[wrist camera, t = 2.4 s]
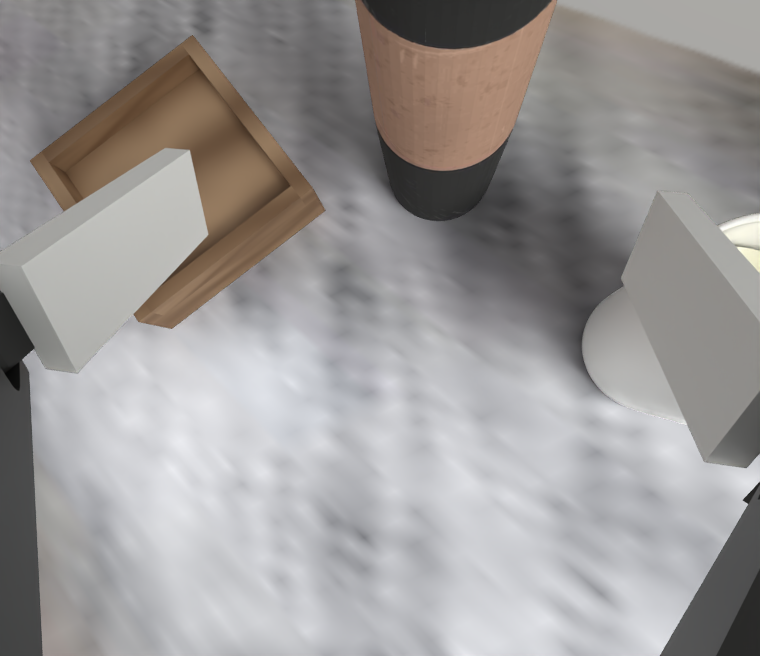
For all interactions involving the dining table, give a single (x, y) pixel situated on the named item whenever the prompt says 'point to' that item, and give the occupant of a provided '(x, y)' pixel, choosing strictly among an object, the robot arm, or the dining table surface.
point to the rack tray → (211, 166)
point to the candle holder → (644, 341)
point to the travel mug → (448, 92)
